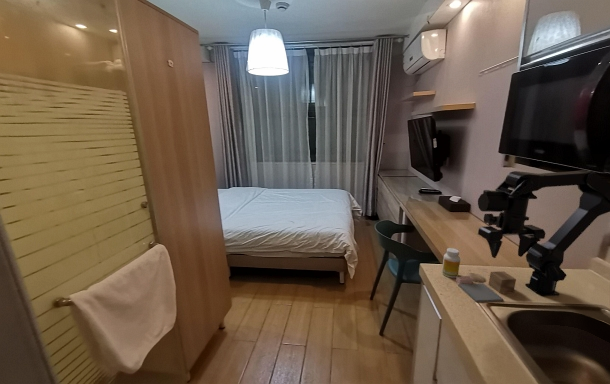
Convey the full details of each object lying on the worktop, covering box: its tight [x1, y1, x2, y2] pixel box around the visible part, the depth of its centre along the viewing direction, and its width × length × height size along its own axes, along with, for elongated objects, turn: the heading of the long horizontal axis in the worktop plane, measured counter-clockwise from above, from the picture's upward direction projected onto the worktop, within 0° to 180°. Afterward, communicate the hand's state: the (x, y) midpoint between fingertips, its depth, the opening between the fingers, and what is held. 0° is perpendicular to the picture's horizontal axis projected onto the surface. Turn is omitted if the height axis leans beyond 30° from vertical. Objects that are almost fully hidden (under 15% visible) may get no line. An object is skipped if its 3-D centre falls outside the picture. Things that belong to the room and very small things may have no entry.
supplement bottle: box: [441, 247, 461, 279], centre depth 101 cm, size 5×5×10 cm
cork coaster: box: [465, 272, 486, 283], centre depth 100 cm, size 6×6×1 cm
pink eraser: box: [455, 275, 474, 284], centre depth 97 cm, size 5×2×2 cm, turn 96°
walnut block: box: [487, 271, 517, 294], centre depth 93 cm, size 5×5×5 cm
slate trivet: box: [457, 282, 504, 303], centre depth 91 cm, size 9×9×1 cm
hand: (506, 256), depth 91 cm, fingers open, 9 cm apart
